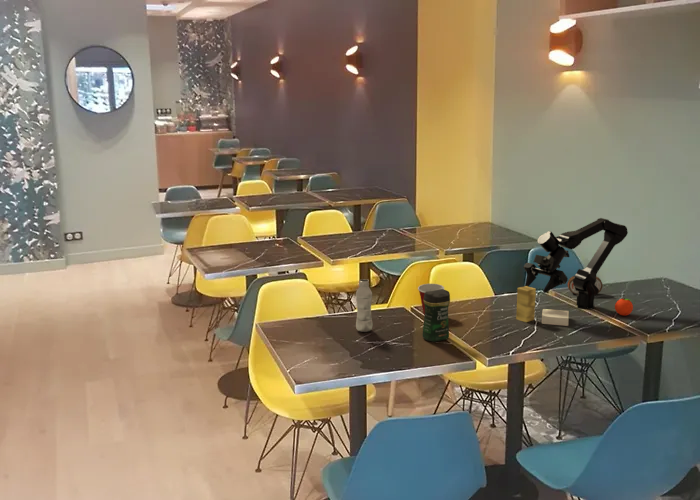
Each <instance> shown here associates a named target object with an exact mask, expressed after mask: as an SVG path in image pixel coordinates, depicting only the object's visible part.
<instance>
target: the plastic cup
mask: <svg viewBox="0 0 700 500" xmlns="http://www.w3.org/2000/svg"><path fill="white" fill-rule="evenodd" d="M440 289H444V290H445V286H443V285H442V284H438V283H424V284H420V285H419V286H418V287H417V290H418V292H419V295H420V301H421V307H422V314H423V316H424V315H425V305H424V293H425V292H427V291H434V290H440Z"/></svg>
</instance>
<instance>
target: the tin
mask: <svg viewBox="0 0 700 500" xmlns="http://www.w3.org/2000/svg"><path fill="white" fill-rule="evenodd" d="M573 279H574V275H572V276H571V277H569V279H568V280H567V283H566V285H567V288H568V290H569V291H570V293H573V294H574V295H577V294H578V293H579V291H576V290H575V286H574V285H573ZM594 285H595V286H596V287H597V288H598V289H599V292H598V294H599V293H601V291H602V289H603V282H602V280H601V278H600V277H599V276H596V282H595V284H594Z"/></svg>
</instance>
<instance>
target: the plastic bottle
mask: <svg viewBox="0 0 700 500" xmlns="http://www.w3.org/2000/svg"><path fill="white" fill-rule="evenodd" d="M369 281H370V280H369V279H365V278H363V279H359V282H358V286H359V287H358V288H357V290H356V292H355V300H356V308H357V309H356V310H357V311H356V320H355V321H356V322H355V328H356V330H357V331H358V332H363V333H367V332H370V331H371V330H372V329H373V320H372V300H373V292H372V290H371V288H370V287H369V285H370V283H369Z"/></svg>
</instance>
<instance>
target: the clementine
mask: <svg viewBox="0 0 700 500" xmlns="http://www.w3.org/2000/svg"><path fill="white" fill-rule="evenodd" d="M632 302H633V303H635V302H634V300H632V299H630V298H619V299H618V300H617V301H616V302H615V304H614V309H615V311H616V313H617V314H618V315H619V316H629V315H630V314H631V313H632V311H633V310H634V304H633V303H632Z"/></svg>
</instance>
